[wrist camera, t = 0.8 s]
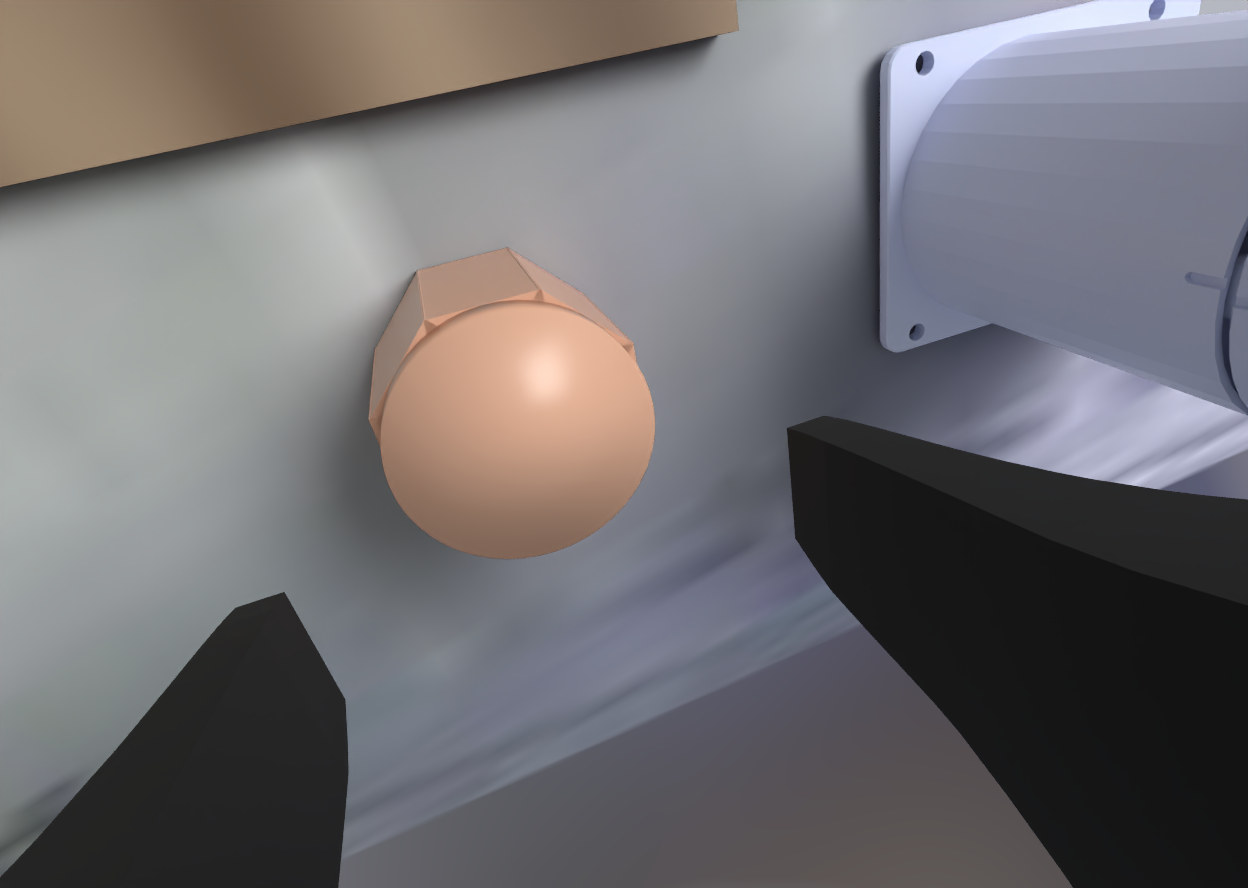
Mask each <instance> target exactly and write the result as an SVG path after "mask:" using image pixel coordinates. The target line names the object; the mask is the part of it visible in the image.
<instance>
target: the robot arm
mask: <svg viewBox="0 0 1248 888" xmlns="http://www.w3.org/2000/svg"><path fill="white" fill-rule="evenodd" d="M1200 3H1201V0H1096V1H1091V2H1087V3H1082V4H1078V5H1074V6H1069V7H1065V8H1060V9H1056V10H1051V11H1047V12H1043V13H1038V14H1034V15H1029V16H1025V17H1020V18H1016V19H1012V20H1007V21H1003V22H998V23H994V24H989V25H985V26H980V27H976V28H972V29H967V30H963V31H958V32H954V33H949V34H945V35H941V36H936V37H932V38H927V39H923V40H918V41H914V42H910V43H905V44H901V45H897V46H895V47H893V48H891V49H890V50H889V51H888V53H887V54H886V55H885V57H884V59H883V61H882V63H881V70H880V341H881V344H882V346H883V347H884V348H886V349H888V350H890V351H892V352H895V353H897V352H903V351H906V350H909V349H912V348H915V347H919V346H922V345H925V344H928V343H931V342H935V341H938V340H941V339H944V338H947V337H950V336H954V335H957V334H960V333H963V332H966V331H970V330H973V329H976V328H979V327H982V326H986V325H989V324H992V323H994V324H996V325H999V326H1002V327H1005V328H1007V329H1010V330H1013V331H1016V332H1018V333H1021V334H1024V335H1027V336H1030V337H1032V338H1035V339H1038V340H1041V341H1043V342H1046V343H1049V344H1052V345H1054V346H1057V347H1060V348H1063V349H1065V350H1068V351H1071V352H1074V353H1077V354H1079V355H1082V356H1085V357H1088V358H1090V359H1093V360H1096V361H1099V362H1101V363H1104V364H1107V365H1110V366H1112V367H1115V368H1118V369H1121V370H1124V371H1126V372H1129V373H1132V374H1135V375H1137V376H1140V377H1143V378H1146V379H1148V380H1151V381H1154V382H1157V383H1160V384H1162V385H1165V386H1168V387H1171V388H1173V389H1176V390H1179V391H1182V392H1184V393H1187V394H1190V395H1193V396H1195V397H1198V398H1201V399H1204V400H1207V401H1209V402H1212V403H1215V404H1218V405H1220V406H1223V407H1226V408H1229V409H1231V410H1234V411H1237V412H1240V413H1242V414H1245V415H1248V10H1239V11H1230V12H1222V13H1213V14H1204V15H1198V13H1199V8H1200ZM1150 6H1151V10H1150V13H1149V9H1150ZM920 54H921V55H922V56H923V67H922V69H921V71H920V72H919V74H918V73H917V72H916V67H915V65H916V60H917V58H918V56H919V55H920ZM914 325H916V328H915V331H914V332H913V334H912V335H910V336H909V333H910V330H911V328H912V327H913V326H914ZM787 435H788V448H789V461H790V475H791V488H792V501H793V514H794V527H795V539H796V540H797V542H798V543H799V545H800V546H801V548H802V549H803V551H804V552H805V554H806V555H807V557H808V558H809V560H810V561H811V563H812V564H813V566H814V567H815V568H816V570H817V571H818V573H819V574H820V575H821V577H822V578H823V580H824V581H825V582H826V584H827V585H828V587H829V588H830V589H831V591H832V592H833V593H834V594H835V595H836V596H837V597H838V599H839V600H840V601H841V602H842V603H843V604H844V605H845V606H846V608H847V609H848V610H849V611H850V612H851V613H852V614H853V615H854V616H855V617H856V619H857V620H858V621H859V622H860V623H861V624H862V625H863V626H864V627H865V628H866V630H868V632H869V633H870V634H871V635H872V636H873V637H874V638H875V639H876V640H877V641H878V643H879V644H880V645H881V646H882V647H883V648H884V649H885V650H886V651H887V652H888V653H889V654H890V656H891V657H892V658H893V659H894V660H895V661H896V662H897V663H898V664H899V665H900V666H901V667H902V669H903V670H904V671H905V672H906V673H907V674H908V675H909V676H910V677H911V678H912V679H913V680H914V682H915V683H916V684H917V685H918V686H919V687H920V688H921V689H922V690H923V691H924V692H925V693H926V694H927V696H928V697H929V698H930V699H931V700H932V701H933V702H934V703H935V704H936V705H937V707H938V708H939V709H940V710H941V711H942V712H943V714H944V715H945V716H946V717H947V718H948V719H949V721H950V722H951V723H952V724H953V725H954V727H955V728H956V729H957V730H958V731H959V732H960V734H961V735H962V736H963V738H964V739H965V740H966V742H967V743H968V744H969V745H970V747H971V748H972V749H973V751H974V752H975V753H976V755H977V756H978V757H979V759H980V760H981V761H982V763H983V764H984V765H985V767H986V768H987V769H988V771H989V772H990V773H991V774H992V776H993V777H994V778H995V780H996V781H997V782H998V784H999V785H1000V786H1001V788H1002V789H1003V790H1004V792H1005V793H1006V794H1007V796H1008V797H1009V798H1010V800H1011V801H1012V802H1013V804H1014V805H1015V807H1016V808H1017V809H1018V811H1019V812H1020V814H1021V815H1022V816H1023V818H1024V819H1025V820H1026V822H1027V823H1028V825H1029V826H1030V827H1031V829H1032V830H1033V831H1034V833H1035V834H1036V836H1037V837H1038V839H1039V840H1040V841H1041V843H1042V844H1043V846H1044V847H1045V848H1046V850H1047V851H1048V852H1049V854H1050V855H1051V857H1052V858H1053V859H1054V861H1055V862H1056V864H1057V865H1058V866H1059V868H1060V869H1061V871H1062V872H1063V873H1064V875H1065V876H1066V878H1067V879H1068V880H1069V882H1070V884H1071V885H1072V887H1073V888H1248V500H1246V499H1235V498H1226V497H1215V496H1205V495H1197V494H1189V493H1180V492H1172V491H1165V490H1158V489H1151V488H1145V487H1138V486H1132V485H1126V484H1119V483H1113V482H1106V481H1100V480H1094V479H1088V478H1083V477H1077V476H1072V475H1067V474H1062V473H1057V472H1052V471H1047V470H1043V469H1038V468H1034V467H1029V466H1025V465H1020V464H1015V463H1011V462H1006V461H1002V460H998V459H994V458H990V457H985V456H981V455H977V454H973V453H969V452H965V451H962V450H958V449H954V448H950V447H946V446H942V445H939V444H935V443H931V442H927V441H924V440H920V439H916V438H913V437H909V436H905V435H902V434H898V433H894V432H891V431H887V430H883V429H880V428H876V427H872V426H868V425H864V424H860V423H856V422H852V421H848V420H843V419H839V418H833V417H828V416H822V417H819V418H816V419H813V420H810V421H807V422H804V423H801V424H798V425H795V426H792V427H789V428H787ZM347 785H348V738H347V721H346V704H345V698H344V696H343V695H342V693H341V691H340V689H339V688H338V686H337V684H336V682H335V681H334V679H333V677H332V675H331V674H330V672H329V670H328V668H327V666H326V665H325V663H324V661H323V659H322V658H321V656H320V654H319V652H318V651H317V649H316V647H315V645H314V644H313V642H312V640H311V638H310V636H309V635H308V633H307V631H306V629H305V628H304V626H303V624H302V622H301V621H300V619H299V617H298V615H297V614H296V612H295V610H294V608H293V606H292V605H291V603H290V601H289V599H288V598H287V596H286V594H285V592H283V593H280V594H277V595H274V596H270V597H267V598H264V599H261V600H258V601H255V602H252V603H249V604H246V605H243V606H240V607H237V608H235V609H234V610H233V611H232V612H231V613H230V614H229V615H228V616H227V617H226V618H225V619H224V621H223V622H222V623H221V624H220V625H219V626H218V627H217V628H216V630H215V631H214V632H213V633H212V634H211V635H210V637H209V638H208V639H207V640H206V641H205V643H204V644H203V645H202V646H201V647H200V649H199V650H198V651H197V652H196V654H195V655H194V656H193V657H192V658H191V660H190V661H189V662H188V663H187V664H186V666H185V667H184V668H183V669H182V671H181V672H180V673H179V674H178V676H177V677H176V678H175V679H174V680H173V682H172V683H171V684H170V685H169V687H168V688H167V689H166V690H165V691H164V693H163V694H162V695H161V696H160V697H159V699H158V700H157V701H156V702H155V703H154V705H153V706H152V707H151V708H150V709H149V711H148V712H147V713H146V714H145V716H144V717H143V718H142V719H141V720H140V722H139V723H138V724H137V725H136V726H135V728H134V729H133V730H132V731H131V732H130V734H129V735H128V736H127V737H126V738H125V740H124V741H123V742H122V743H121V744H120V746H119V747H118V748H117V749H116V750H115V751H114V753H113V754H112V755H111V756H110V757H109V758H108V759H107V760H106V762H105V763H104V764H103V765H102V766H101V767H100V768H99V769H98V771H97V772H96V773H95V774H94V775H93V776H92V777H91V778H90V780H89V781H88V782H87V783H86V784H85V785H84V786H83V787H82V789H81V790H80V791H79V792H78V793H77V794H76V795H75V797H74V798H73V799H72V800H71V801H70V802H69V803H68V804H67V806H66V807H65V808H64V809H63V810H62V811H61V812H60V813H59V815H58V816H57V817H56V818H55V819H54V820H53V821H52V822H51V824H50V825H49V826H48V827H47V828H46V829H45V830H44V831H43V833H42V834H41V835H40V836H39V837H38V838H37V839H36V840H35V841H34V842H33V844H32V845H31V846H30V847H29V848H28V849H27V850H26V851H25V852H24V853H23V854H22V855H21V856H20V857H19V858H18V860H17V861H16V862H15V863H14V864H13V865H12V866H11V867H10V868H9V869H8V870H7V871H6V872H5V873H4V874H3V875H2V876H1V877H0V888H338V882H339V873H340V862H341V852H342V842H343V831H344V820H345V808H346V797H347Z"/></svg>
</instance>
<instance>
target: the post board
mask: <svg viewBox="0 0 1248 888" xmlns="http://www.w3.org/2000/svg"><path fill="white" fill-rule="evenodd" d="M734 31H739V29H738V17H737V6H736V0H0V187H3V186H8V185H13V184H18V183H22V182H27V181H32V180H37V179H41V178H46V177H51V176H55V175H60V174H65V173H70V172H74V171H79V170H84V169H88V168H93V167H98V166H103V165H107V164H112V163H117V162H121V161H126V160H131V159H136V158H140V157H145V156H150V155H154V154H159V153H164V152H169V151H173V150H178V149H183V148H188V147H192V146H197V145H202V144H206V143H211V142H216V141H221V140H225V139H230V138H235V137H239V136H244V135H249V134H254V133H258V132H263V131H268V130H272V129H277V128H282V127H287V126H291V125H296V124H301V123H306V122H310V121H315V120H320V119H324V118H329V117H334V116H339V115H343V114H348V113H353V112H357V111H362V110H367V109H372V108H376V107H381V106H386V105H390V104H395V103H400V102H405V101H409V100H414V99H419V98H423V97H428V96H433V95H438V94H442V93H447V92H452V91H457V90H461V89H466V88H471V87H475V86H480V85H485V84H490V83H494V82H499V81H504V80H508V79H513V78H518V77H523V76H527V75H532V74H537V73H541V72H546V71H551V70H556V69H560V68H565V67H570V66H574V65H579V64H584V63H589V62H593V61H598V60H603V59H608V58H612V57H617V56H622V55H626V54H631V53H636V52H641V51H645V50H650V49H655V48H659V47H664V46H669V45H674V44H678V43H683V42H688V41H692V40H697V39H702V38H707V37H711V36H716V35H721V34H725V33H730V32H734Z"/></svg>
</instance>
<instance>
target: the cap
mask: <svg viewBox="0 0 1248 888" xmlns="http://www.w3.org/2000/svg"><path fill="white" fill-rule="evenodd" d="M633 345H634V344H633V342H632V341H631V340H630V339H629V338H628V337H627V336H626V335H625V334H624V333H623V332H622V331H621V330H620V329H618V328H617V327H616V326H615V325H614V324H613V323H612V322H611V321H610V320H609V319H608V318H607V317H606V316H605V315H604V314H603V313H602V312H601V311H600V310H599V309H598V308H597V307H596V306H595V305H594V304H593V303H592V302H591V301H590V300H589V299H588V298H587V297H586V296H585V295H584V294H583V293H582V292H580V291H578V290H576V289H575V288H573V287H571V286H570V285H568V284H567V283H565V282H563V281H562V280H560V279H558V278H557V277H555V276H553V275H552V274H550V273H548V272H547V271H545V270H543V269H542V268H540V267H538V266H537V265H535V264H534V263H532V262H530V261H529V260H527V259H525V258H524V257H522V256H520V255H519V254H517V253H515V252H514V251H512V250H510V249H509V248H507V247H506V248H504V249H500V250H496V251H492V252H488V253H484V254H480V255H476V256H472V257H468V258H465V259H461V260H457V261H453V262H449V263H445V264H441V265H437V266H433V267H429V268H425V269H421V270H417V271H416V274H415V276H414V278H413V279H412V281H411V283H410V285H409V287H408V289H407V291H406V292H405V294H404V296H403V298H402V300H401V302H400V304H399V305H398V307H397V309H396V311H395V313H394V315H393V317H392V319H391V320H390V322H389V324H388V326H387V328H386V330H385V332H384V333H383V335H382V337H381V339H380V341H379V343H378V345H377V346H376V348H375V351H374V363H373V374H372V386H371V397H370V409H369V422H370V424H371V426H372V428H373V431H374V433H375V436H376V438H377V440H378V443H379V445H380V447H381V457H382V463H383V469H384V473H385V475H386V478H387V481H388V484H389V487H390V489H391V491H392V493H393V495H394V497H395V499H396V501H397V502H398V503H399V505H400V506H401V508H402V509H403V510H404V512H405V513H406V515H407V516H408V517H409V518H410V519H411V520H412V521H413V522H414V523H415V524H416V525H417V526H418V527H419V528H421V529H422V530H423V531H425V532H426V533H427V534H428V535H430V536H431V537H433V538H435V539H436V540H438V541H440V542H441V543H443V544H445V545H447V546H449V547H452V548H454V549H456V550H459V551H462V552H465V553H469V554H472V555H476V556H481V557H487V558H497V559H519V558H529V557H535V556H541V555H544V554H548V553H552V552H555V551H558V550H561V549H563V548H566V547H568V546H571V545H573V544H575V543H577V542H579V541H581V540H583V539H585V538H587V537H588V536H590V535H591V534H593V533H594V532H596V531H597V530H599V529H600V528H601V527H603V526H604V525H605V524H606V523H607V522H609V521H610V520H611V519H612V518H613V517H614V516H615V515H616V514H617V513H618V512H619V511H620V510H621V509H622V508H623V507H624V506H625V504H626V503H627V502H628V500H629V499H630V498H631V496H632V495H633V494H634V492H635V490H636V489H637V487H638V485H639V484H640V482H641V480H642V478H643V476H644V473H645V471H646V469H647V467H648V463H649V460H650V457H651V453H652V449H653V443H654V437H655V416H654V407H653V402H652V398H651V394H650V390H649V388H648V385H647V383H646V381H645V378H644V376H643V374H642V372H641V371H640V369H639V367H638V366H637V362H636V357H635V352H634V346H633Z"/></svg>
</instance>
